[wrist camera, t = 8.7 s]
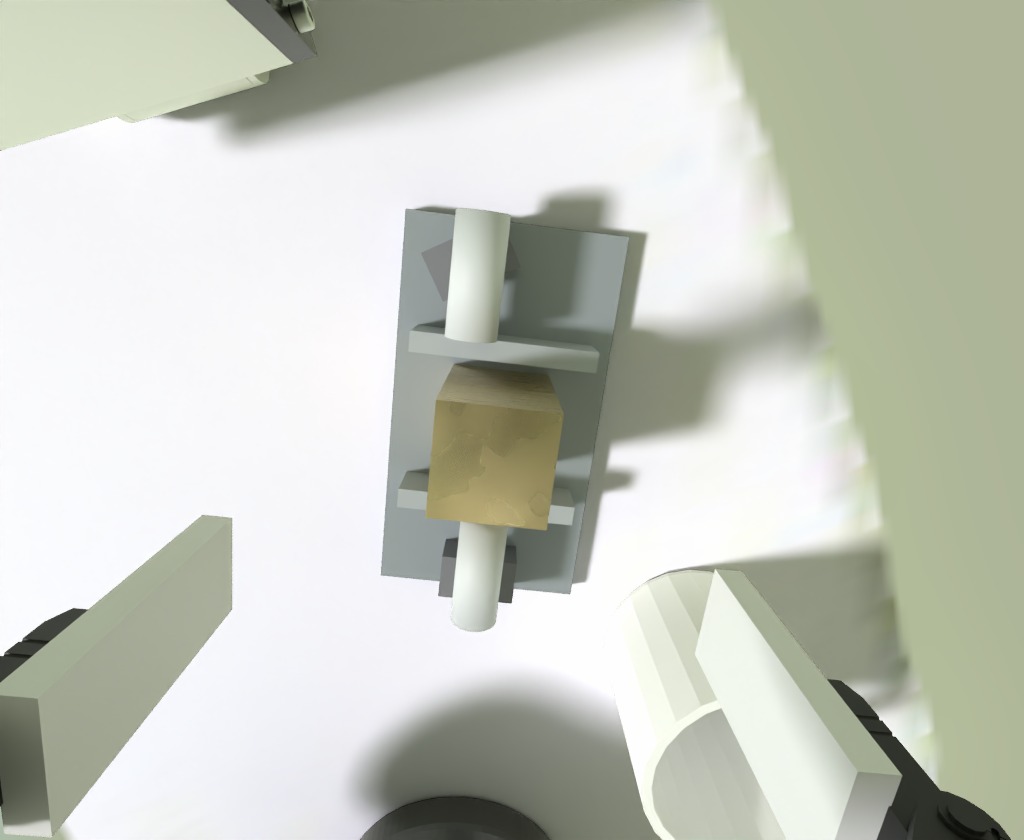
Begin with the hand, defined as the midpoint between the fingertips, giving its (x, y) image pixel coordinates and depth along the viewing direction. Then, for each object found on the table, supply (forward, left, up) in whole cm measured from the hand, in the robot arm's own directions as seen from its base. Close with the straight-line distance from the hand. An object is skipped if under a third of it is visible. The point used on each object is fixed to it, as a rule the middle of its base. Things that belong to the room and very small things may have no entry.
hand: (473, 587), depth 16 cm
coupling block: (+1, 0, -16) cm, 16 cm away
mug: (-14, -14, -17) cm, 26 cm away
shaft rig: (0, 0, -17) cm, 17 cm away
